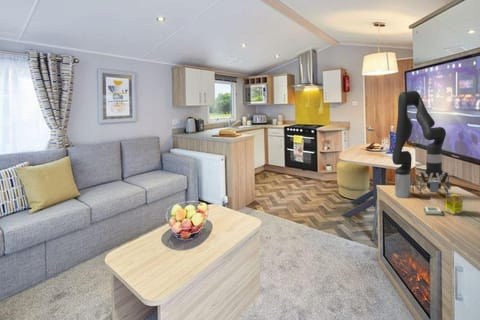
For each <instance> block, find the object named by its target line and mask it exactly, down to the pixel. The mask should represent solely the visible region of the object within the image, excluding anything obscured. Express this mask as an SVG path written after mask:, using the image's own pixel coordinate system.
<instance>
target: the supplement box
mask: <svg viewBox="0 0 480 320" xmlns="http://www.w3.org/2000/svg"><path fill="white" fill-rule="evenodd" d="M463 202H464V196H462V195H459V194H456V193H452V194H446V195H445V209H444V212H445V213H447V214H449V215H452V216H456V215H457V216H458V215H462V214H463V204H464V203H463Z"/></svg>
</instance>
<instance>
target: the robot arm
mask: <svg viewBox="0 0 480 320" xmlns="http://www.w3.org/2000/svg"><path fill="white" fill-rule="evenodd" d="M411 106H414V107H415V108H416V112H415V113H416V114H415V117H416V118H415V119H416V121H417V123H418V124H419V125H420V128H421V130H422V135H423V138H424V139H425V140H427V141H433V142H431V143H429V144H427V146H426V161H425V165H426V167H425V171H423V172H422V171H420V172H419V174H420V177H421V178H422V181H423V182H424V183H426V187H427V189H428V190H429V189H430V180H431V179H437V180H439V187H438V190H440V189H441V187H442V183H445V182H446V180H447V178H448V176H449V172H447V171H443V151H442V150H443V144H444V141H445V139H446V135H447V131H446V129H445V128H444V127H441V126H438V127H434V126H435V125H436V124H435V123H436V122H435V120H434V118H433V117H432V116H431V115H430V113H429V112H428V110H427V108H426V105H425V103H424V101H423V99H422V96H421V94H420V93H419V91H417V90H410V91H409V90H408V91H402V92H400V94H399V95H398V100H397V122H396V130H395V131H396V132H395V140H394V141H395V142H394V147H393V150H392V157H391V159H392V163H393V164H394V165H396V166H399V165H400V166H399V167H397V168H395V170H394V183H395V184H394V187H395V188H394V190H395V191H394V195H395V196H394V197H396V198H401V199H402V198H403V199H407V198H410V197H411V170H412V159H413V157H412V154H411V152H410V151H408V150H403V148H404V147H405V144H406V143H408V141H409V139H410V138H411V136H412V133H413V123H412V122H413V121H412V120H411V119H410V118H409V116H408V113H407V111H408V110H407V107H411ZM426 175H427V179H426ZM441 175H442V178H440V176H441Z"/></svg>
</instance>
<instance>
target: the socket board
mask: <svg viewBox="0 0 480 320" xmlns="http://www.w3.org/2000/svg"><path fill="white" fill-rule="evenodd" d="M423 212H424V214H425V216H438V217H443V216H444V214H443V212H442V210H441V209H440V207H439V206H425V207H423Z"/></svg>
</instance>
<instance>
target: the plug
mask: <svg viewBox="0 0 480 320" xmlns="http://www.w3.org/2000/svg"><path fill="white" fill-rule="evenodd" d="M438 187H439V180H437V178H431V180H430V189H428V191H429V193H439V189H438Z"/></svg>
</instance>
